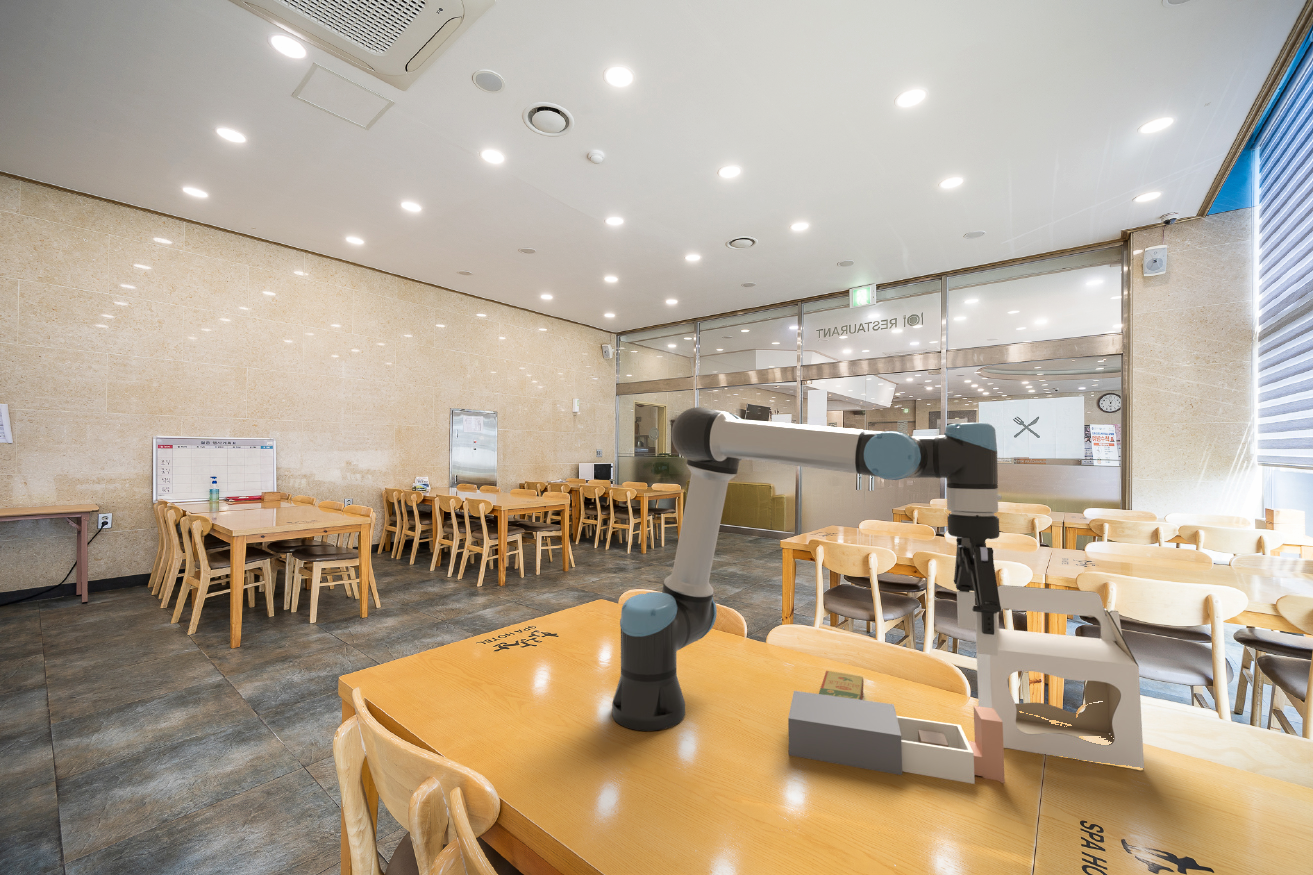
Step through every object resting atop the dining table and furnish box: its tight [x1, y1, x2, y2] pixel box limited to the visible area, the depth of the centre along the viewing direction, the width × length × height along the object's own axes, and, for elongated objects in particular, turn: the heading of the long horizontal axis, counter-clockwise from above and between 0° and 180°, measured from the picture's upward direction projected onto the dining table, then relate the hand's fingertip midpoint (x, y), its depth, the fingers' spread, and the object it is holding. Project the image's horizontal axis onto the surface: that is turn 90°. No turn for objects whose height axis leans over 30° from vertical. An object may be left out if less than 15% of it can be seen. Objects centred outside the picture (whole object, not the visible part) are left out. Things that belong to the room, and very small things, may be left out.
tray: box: [897, 705, 1006, 785], centre depth 89 cm, size 21×10×10 cm, turn 71°
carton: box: [818, 670, 864, 700], centre depth 112 cm, size 8×16×4 cm, turn 156°
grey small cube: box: [918, 730, 948, 747], centre depth 89 cm, size 4×4×4 cm
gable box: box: [976, 584, 1145, 769], centre depth 98 cm, size 22×13×28 cm, turn 68°
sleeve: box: [787, 690, 903, 776], centre depth 94 cm, size 18×12×7 cm, turn 71°
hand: (976, 640), depth 88 cm, fingers open, 13 cm apart
